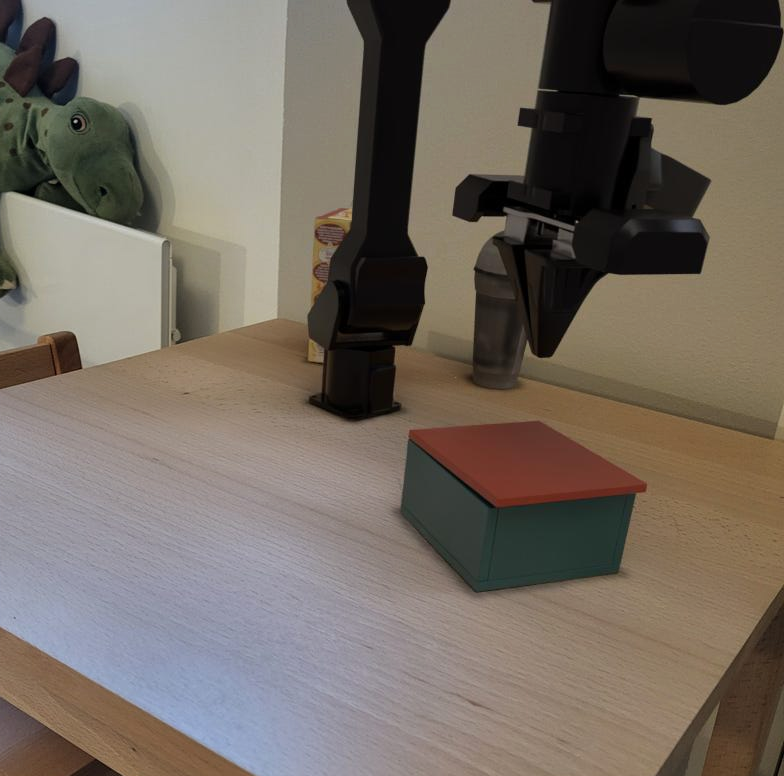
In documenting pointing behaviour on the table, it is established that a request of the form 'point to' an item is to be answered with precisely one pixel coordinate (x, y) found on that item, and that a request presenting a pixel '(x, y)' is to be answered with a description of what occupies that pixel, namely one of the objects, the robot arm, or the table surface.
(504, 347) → the beverage cup
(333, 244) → the candy box
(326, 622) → the table surface
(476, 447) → the lid
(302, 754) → the table surface
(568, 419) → the table surface
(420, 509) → the teal open box
